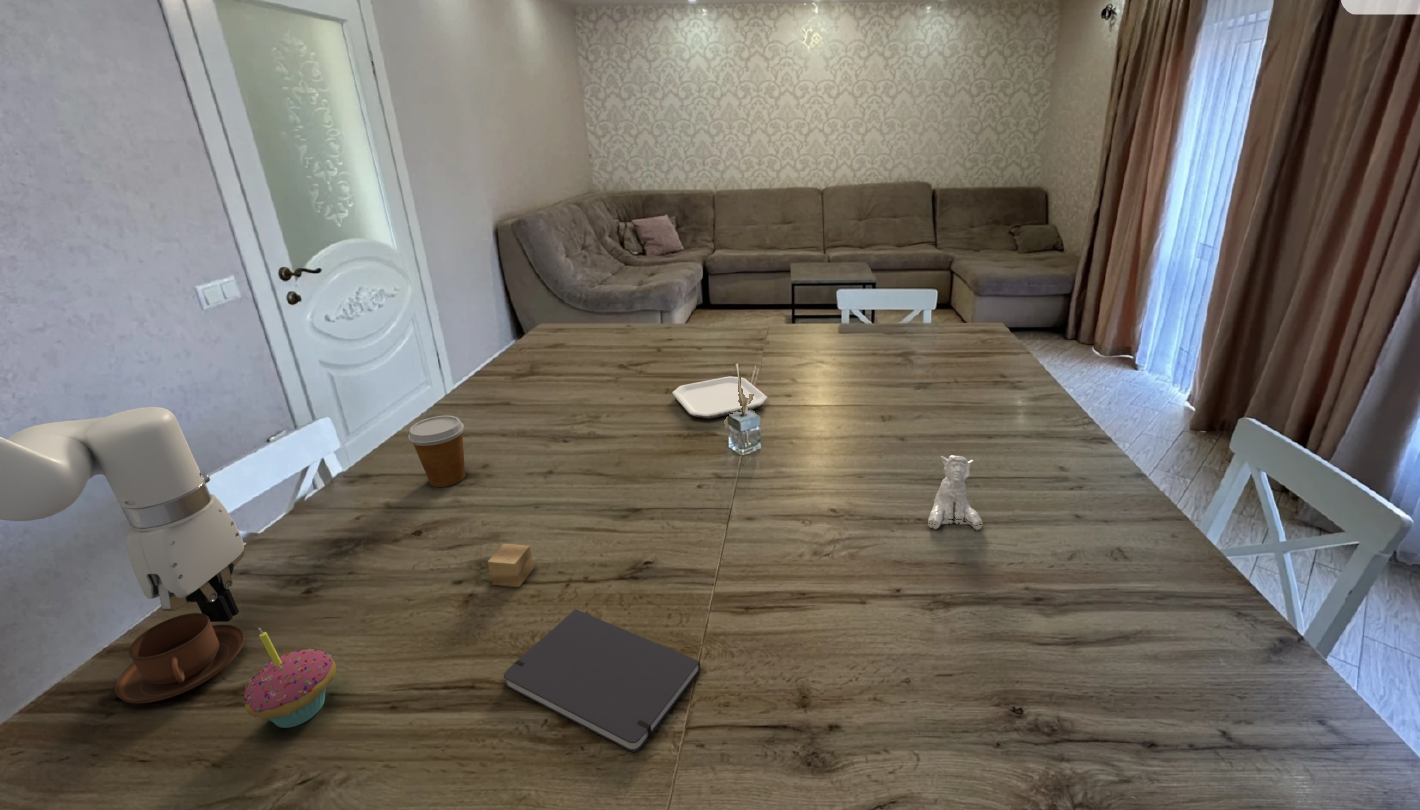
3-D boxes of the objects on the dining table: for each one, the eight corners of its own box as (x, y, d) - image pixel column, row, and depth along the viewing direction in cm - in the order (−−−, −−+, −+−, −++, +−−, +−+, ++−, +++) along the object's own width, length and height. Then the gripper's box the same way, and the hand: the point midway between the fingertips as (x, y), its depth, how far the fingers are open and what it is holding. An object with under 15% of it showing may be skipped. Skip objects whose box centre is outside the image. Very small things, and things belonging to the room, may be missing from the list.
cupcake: (237, 731, 71) (202, 652, 67) (310, 673, 78) (283, 598, 74) (292, 751, 69) (258, 670, 64) (361, 689, 76) (336, 614, 72)
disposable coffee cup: (480, 479, 122) (468, 426, 118) (426, 497, 116) (412, 441, 112) (466, 461, 129) (455, 410, 125) (415, 477, 123) (401, 424, 119)
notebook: (700, 670, 79) (576, 617, 87) (700, 661, 78) (575, 608, 87) (636, 755, 68) (502, 684, 77) (635, 745, 67) (500, 675, 76)
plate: (668, 395, 161) (668, 387, 160) (740, 381, 170) (740, 373, 169) (695, 426, 144) (694, 418, 143) (773, 408, 153) (773, 400, 152)
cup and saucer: (266, 653, 81) (252, 617, 79) (147, 728, 71) (127, 688, 69) (220, 624, 86) (205, 589, 84) (102, 690, 76) (82, 652, 74)
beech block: (519, 587, 93) (514, 564, 92) (492, 585, 94) (487, 561, 92) (534, 568, 97) (529, 545, 96) (508, 566, 98) (503, 543, 96)
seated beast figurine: (928, 530, 106) (933, 470, 102) (919, 502, 114) (924, 445, 110) (982, 531, 106) (990, 471, 102) (970, 503, 114) (977, 446, 110)
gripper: (194, 472, 83) (242, 579, 90) (74, 543, 69) (141, 663, 76) (248, 471, 83) (292, 578, 90) (139, 541, 69) (201, 662, 76)
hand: (223, 617), depth 83 cm, fingers closed
